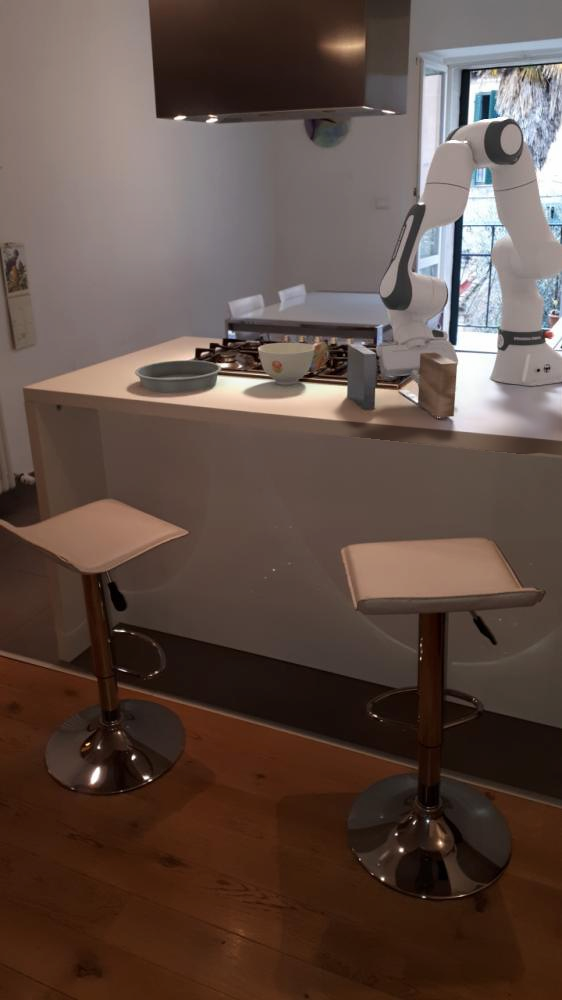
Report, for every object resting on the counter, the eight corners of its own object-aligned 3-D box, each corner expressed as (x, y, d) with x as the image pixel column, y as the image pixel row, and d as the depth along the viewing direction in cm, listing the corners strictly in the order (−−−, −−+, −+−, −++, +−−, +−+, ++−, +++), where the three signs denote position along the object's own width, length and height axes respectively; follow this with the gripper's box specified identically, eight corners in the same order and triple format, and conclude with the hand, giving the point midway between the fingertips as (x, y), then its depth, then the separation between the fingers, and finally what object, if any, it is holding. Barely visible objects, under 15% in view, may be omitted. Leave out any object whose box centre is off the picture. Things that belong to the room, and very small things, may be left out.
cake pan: (171, 371, 248) (170, 356, 247) (238, 379, 237) (237, 364, 235) (118, 388, 229) (116, 372, 227) (187, 398, 217) (186, 382, 215)
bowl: (326, 381, 232) (326, 346, 228) (288, 392, 221) (288, 355, 217) (285, 373, 242) (284, 340, 238) (247, 383, 231) (246, 348, 227)
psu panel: (406, 391, 220) (409, 339, 214) (446, 417, 195) (450, 359, 190) (346, 395, 216) (346, 343, 211) (378, 422, 192) (380, 364, 187)
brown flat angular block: (432, 402, 205) (435, 352, 200) (453, 416, 193) (457, 363, 188) (417, 404, 204) (420, 353, 199) (438, 417, 192) (441, 364, 187)
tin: (311, 377, 238) (311, 348, 234) (301, 376, 239) (301, 347, 236) (330, 366, 250) (331, 339, 247) (321, 366, 251) (321, 338, 248)
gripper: (377, 336, 205) (389, 383, 199) (452, 331, 209) (466, 377, 203) (371, 350, 210) (382, 396, 205) (444, 345, 214) (458, 390, 209)
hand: (425, 386), depth 204 cm, fingers closed
